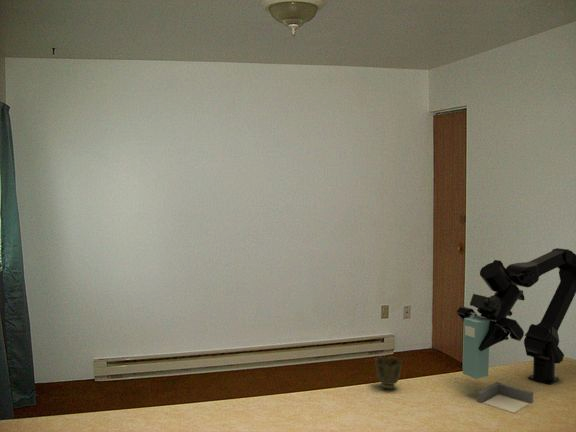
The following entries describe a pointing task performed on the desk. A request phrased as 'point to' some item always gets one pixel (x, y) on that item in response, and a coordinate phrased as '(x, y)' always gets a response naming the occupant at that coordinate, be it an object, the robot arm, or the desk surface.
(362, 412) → the desk surface
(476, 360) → the teal block
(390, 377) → the cup
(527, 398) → the corner arena
